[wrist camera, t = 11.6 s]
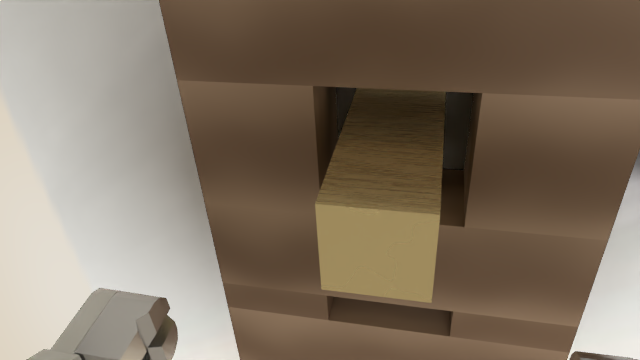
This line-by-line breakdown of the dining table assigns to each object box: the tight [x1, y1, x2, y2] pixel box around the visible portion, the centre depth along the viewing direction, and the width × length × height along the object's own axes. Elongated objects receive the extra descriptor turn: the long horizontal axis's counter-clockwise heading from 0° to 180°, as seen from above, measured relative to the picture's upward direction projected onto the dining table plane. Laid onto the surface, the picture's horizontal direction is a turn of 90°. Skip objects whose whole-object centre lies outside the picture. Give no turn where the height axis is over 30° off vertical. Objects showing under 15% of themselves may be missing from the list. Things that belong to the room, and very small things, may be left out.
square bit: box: [315, 88, 446, 303], centre depth 17 cm, size 3×3×8 cm
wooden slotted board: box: [159, 0, 640, 360], centre depth 20 cm, size 18×14×4 cm
